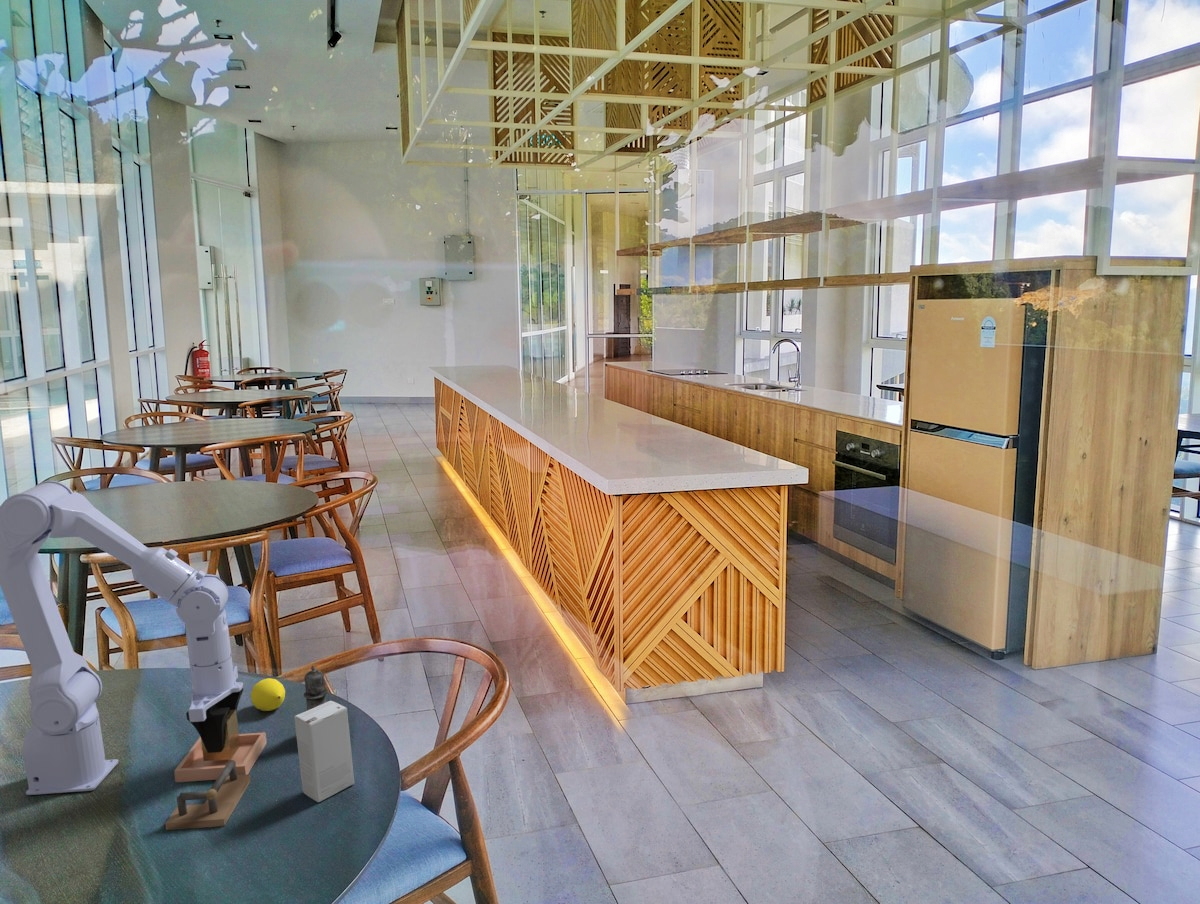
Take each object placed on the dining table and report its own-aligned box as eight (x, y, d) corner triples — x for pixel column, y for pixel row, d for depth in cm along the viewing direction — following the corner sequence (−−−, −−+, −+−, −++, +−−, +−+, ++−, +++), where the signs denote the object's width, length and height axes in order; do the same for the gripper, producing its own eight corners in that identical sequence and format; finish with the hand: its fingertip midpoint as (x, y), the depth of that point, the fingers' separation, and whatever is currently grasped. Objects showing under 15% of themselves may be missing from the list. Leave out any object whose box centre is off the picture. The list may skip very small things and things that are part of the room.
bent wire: (166, 830, 114) (162, 801, 114) (197, 784, 125) (194, 757, 124) (224, 825, 115) (220, 797, 114) (250, 780, 126) (247, 753, 125)
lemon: (246, 712, 148) (240, 682, 148) (275, 701, 152) (270, 671, 152) (266, 719, 143) (260, 687, 143) (296, 707, 147) (290, 676, 147)
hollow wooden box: (203, 761, 129) (199, 723, 128) (213, 747, 133) (209, 711, 132) (231, 759, 129) (226, 721, 128) (240, 745, 133) (235, 709, 132)
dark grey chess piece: (327, 747, 134) (320, 674, 132) (293, 744, 136) (285, 672, 134) (345, 728, 140) (339, 659, 138) (312, 726, 141) (305, 657, 139)
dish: (175, 782, 126) (174, 771, 125) (201, 747, 136) (200, 736, 135) (246, 777, 127) (244, 766, 126) (266, 742, 136) (265, 732, 136)
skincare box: (338, 775, 126) (331, 697, 124) (356, 785, 123) (349, 706, 121) (300, 794, 122) (292, 714, 120) (318, 805, 119) (309, 723, 117)
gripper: (221, 678, 121) (231, 767, 124) (253, 638, 136) (262, 718, 138) (169, 681, 121) (180, 770, 123) (207, 641, 135) (217, 721, 137)
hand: (220, 743), depth 131 cm, fingers closed on hollow wooden box, 4 cm apart
